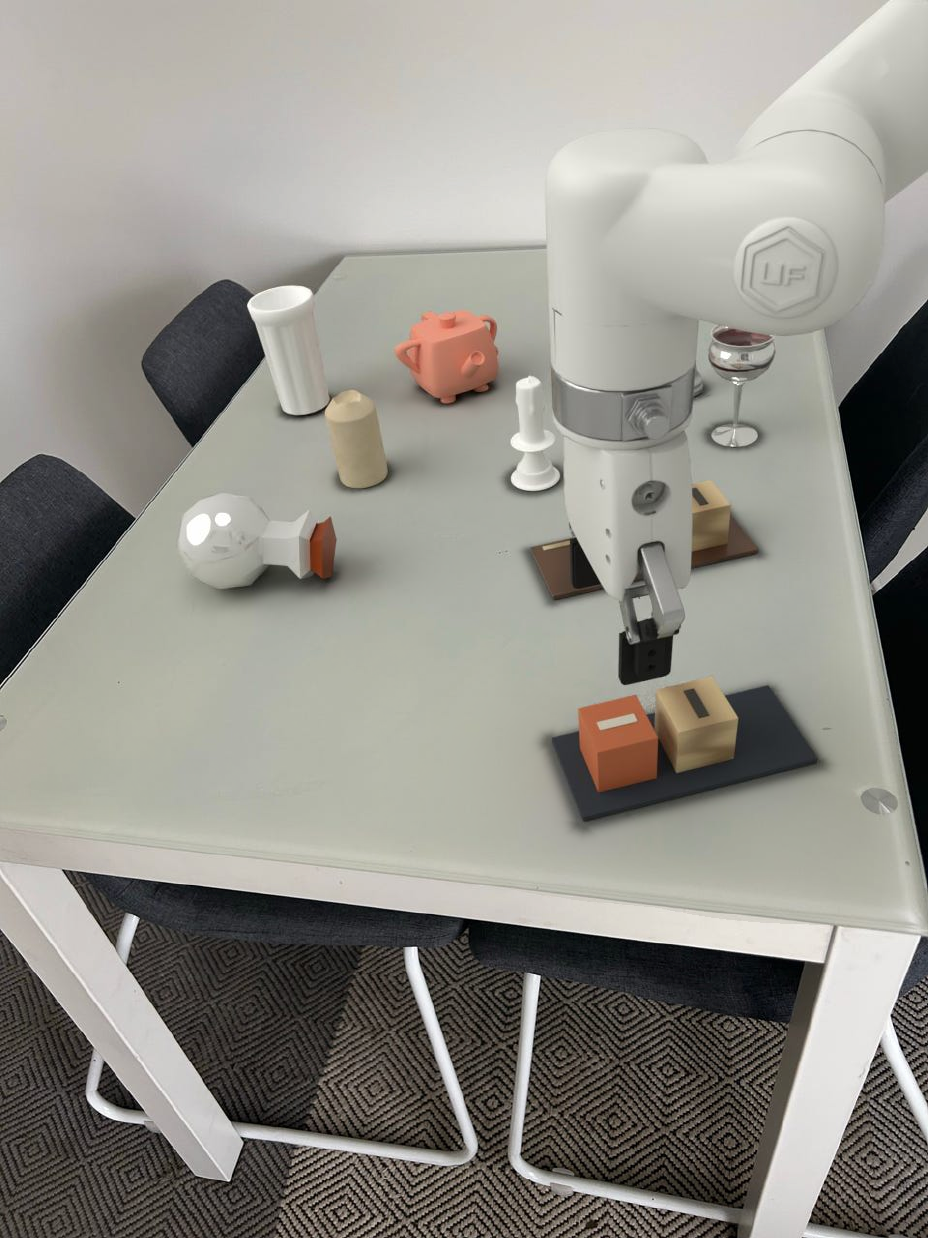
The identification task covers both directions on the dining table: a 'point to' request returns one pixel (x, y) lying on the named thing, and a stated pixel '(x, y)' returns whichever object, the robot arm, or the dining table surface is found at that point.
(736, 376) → the wineglass
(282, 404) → the cup
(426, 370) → the teapot
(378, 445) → the candle
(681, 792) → the near mat
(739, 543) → the far board
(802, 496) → the dining table surface
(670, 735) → the tan block
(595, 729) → the orange striped cube
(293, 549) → the potion bottle
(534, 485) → the candle
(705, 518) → the tan wooden block
